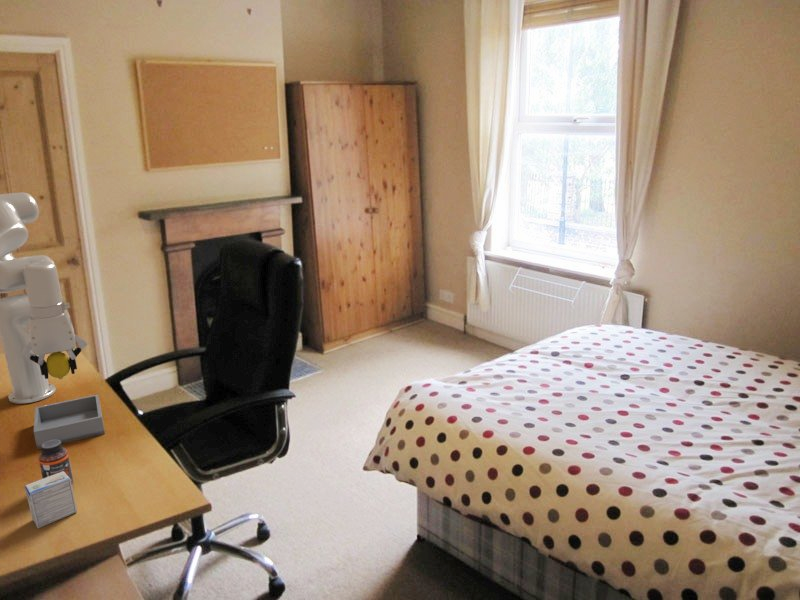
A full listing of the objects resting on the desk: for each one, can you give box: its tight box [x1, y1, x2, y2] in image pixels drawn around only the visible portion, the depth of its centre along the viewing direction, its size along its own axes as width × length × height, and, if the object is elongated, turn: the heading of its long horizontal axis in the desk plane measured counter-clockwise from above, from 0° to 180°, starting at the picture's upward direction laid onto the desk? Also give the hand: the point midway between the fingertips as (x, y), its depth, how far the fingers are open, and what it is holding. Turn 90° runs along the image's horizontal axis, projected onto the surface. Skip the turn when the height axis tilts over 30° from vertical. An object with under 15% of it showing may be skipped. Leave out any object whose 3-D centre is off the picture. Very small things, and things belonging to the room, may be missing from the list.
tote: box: [33, 394, 106, 450], centre depth 174 cm, size 16×16×5 cm
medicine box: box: [24, 471, 78, 529], centre depth 136 cm, size 8×4×9 cm, turn 133°
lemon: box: [45, 351, 71, 380], centre depth 168 cm, size 6×6×8 cm
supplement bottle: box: [38, 440, 74, 486], centre depth 146 cm, size 6×6×11 cm
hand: (59, 373), depth 168 cm, fingers closed on lemon, 5 cm apart
